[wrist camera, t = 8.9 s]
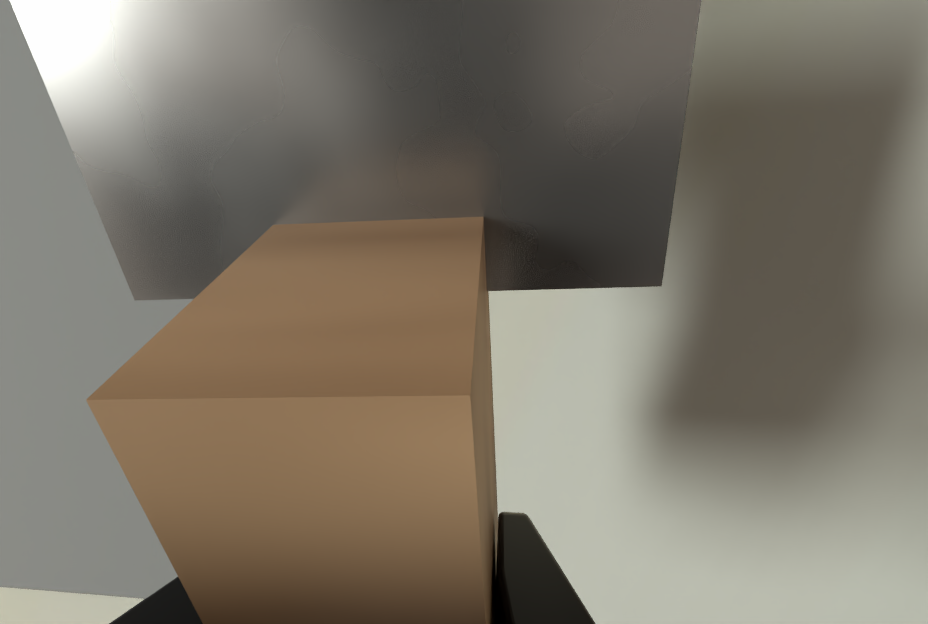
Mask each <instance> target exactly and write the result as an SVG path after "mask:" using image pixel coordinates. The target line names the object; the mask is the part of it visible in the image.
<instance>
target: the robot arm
mask: <svg viewBox="0 0 928 624" xmlns="http://www.w3.org/2000/svg"><path fill="white" fill-rule="evenodd" d="M110 624H203V623H202V621H201V619H200V617H199V615H198V614H197V612H196V610H195V608H194V606H193V604H192V602H191V600H190V598H189V596H188V594H187V592H186V591H185V589H184V587H183V585H182V583H181V581H180V579H179V577H176V578H175V579H173V580H172V581H170V582H169V583H168V584H166V585H165V586H163V587H162V588H160V589H159V590H157V591H156V592H155V593H153V594H152V595H150V596H149V597H147V598H146V599H144V600H143V601H141V602H140V603H139V604H137V605H136V606H134V607H133V608H131V609H130V610H128V611H127V612H126V613H124V614H123V615H121V616H120V617H118V618H117V619H115V620H114V621H113V622H111V623H110ZM495 624H595V622H594V621H593V619H592V617H591V616H590V614H589V613H588V611H587V609H586V608H585V606H584V605H583V603H582V601H581V600H580V598H579V597H578V595H577V593H576V592H575V590H574V589H573V587H572V585H571V584H570V582H569V581H568V579H567V577H566V576H565V574H564V573H563V571H562V569H561V568H560V566H559V565H558V563H557V561H556V560H555V558H554V557H553V555H552V553H551V552H550V550H549V549H548V547H547V545H546V544H545V542H544V541H543V539H542V537H541V536H540V534H539V533H538V531H537V529H536V528H535V526H534V525H533V523H532V521H531V520H530V518H529V517H528V516H527V515H526V514H524V513H512V512H502V513H500V514H499V517H498V538H497V562H496V596H495Z"/></svg>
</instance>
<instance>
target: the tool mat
mask: <svg viewBox="0 0 928 624" xmlns="http://www.w3.org/2000/svg"><path fill="white" fill-rule="evenodd" d="M192 300H193V299H172V300H134V298H133V295H132V293H131V290H130V288H129V286H128V283H127V281H126V278H125V276H124V274H123V271H122V269H121V266H120V264H119V262H118V259H117V257H116V254H115V252H114V250H113V247H112V245H111V242H110V240H109V238H108V235H107V233H106V230H105V228H104V226H103V223H102V221H101V218H100V216H99V213H98V211H97V209H96V206H95V204H94V201H93V199H92V197H91V194H90V192H89V189H88V187H87V185H86V182H85V180H84V177H83V175H82V173H81V170H80V168H79V165H78V163H77V161H76V158H75V156H74V153H73V151H72V149H71V146H70V144H69V141H68V139H67V137H66V134H65V132H64V129H63V127H62V125H61V122H60V120H59V117H58V115H57V113H56V110H55V108H54V105H53V103H52V101H51V98H50V96H49V93H48V91H47V88H46V86H45V84H44V81H43V79H42V76H41V74H40V72H39V69H38V67H37V64H36V62H35V60H34V57H33V55H32V52H31V50H30V48H29V45H28V43H27V40H26V38H25V36H24V33H23V31H22V28H21V26H20V24H19V21H18V19H17V16H16V14H15V12H14V9H13V7H12V4H11V2H10V0H0V587H9V588H21V589H33V590H45V591H58V592H70V593H82V594H94V595H107V596H119V597H131V598H143V599H146V598H147V597H149V596H150V595H152V594H153V593H155V592H156V591H157V590H159V589H160V588H162V587H163V586H165V585H166V584H168V583H169V582H170V581H172V580H173V579H175V578H176V577H178V575H177V573H176V571H175V570H174V568H173V566H172V564H171V562H170V560H169V558H168V556H167V554H166V552H165V550H164V548H163V547H162V545H161V543H160V541H159V539H158V537H157V535H156V533H155V531H154V529H153V527H152V525H151V524H150V522H149V520H148V518H147V516H146V514H145V512H144V510H143V508H142V506H141V504H140V503H139V501H138V499H137V497H136V495H135V493H134V491H133V489H132V487H131V485H130V483H129V481H128V480H127V478H126V476H125V474H124V472H123V470H122V468H121V466H120V464H119V462H118V460H117V459H116V457H115V455H114V453H113V451H112V449H111V447H110V445H109V443H108V441H107V439H106V437H105V436H104V434H103V432H102V430H101V428H100V426H99V424H98V422H97V420H96V418H95V416H94V414H93V413H92V411H91V409H90V407H89V405H88V403H87V401H86V399H87V398H88V397H89V396H90V395H92V394H93V393H94V392H95V391H96V390H97V389H98V388H99V387H100V386H101V385H102V384H103V383H104V382H105V381H107V380H108V379H109V378H110V377H111V376H112V375H113V374H114V373H115V372H116V371H117V370H118V369H119V368H120V367H122V366H123V365H124V364H125V363H126V362H127V361H128V360H129V359H130V358H131V357H132V356H133V355H134V354H135V353H137V352H138V351H139V350H140V349H141V348H142V347H143V346H144V345H145V344H146V343H147V342H148V341H149V340H150V339H152V338H153V337H154V336H155V335H156V334H157V333H158V332H159V331H160V330H161V329H162V328H163V327H164V326H165V325H167V324H168V323H169V322H170V321H171V320H172V319H173V318H174V317H175V316H176V315H177V314H178V313H179V312H180V311H182V310H183V309H184V308H185V307H186V306H187V305H188V304H189V303H190V302H191V301H192Z"/></svg>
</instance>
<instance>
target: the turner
mask: <svg viewBox="0 0 928 624" xmlns="http://www.w3.org/2000/svg"><path fill="white" fill-rule="evenodd" d="M10 2H11V4H12V7H13V9H14V12H15V14H16V16H17V19H18V21H19V24H20V26H21V28H22V31H23V33H24V36H25V38H26V40H27V43H28V45H29V48H30V50H31V52H32V55H33V57H34V60H35V62H36V64H37V67H38V69H39V72H40V74H41V76H42V79H43V81H44V84H45V86H46V88H47V91H48V93H49V96H50V98H51V101H52V103H53V105H54V108H55V110H56V113H57V115H58V117H59V120H60V122H61V125H62V127H63V129H64V132H65V134H66V137H67V139H68V141H69V144H70V146H71V149H72V151H73V153H74V156H75V158H76V161H77V163H78V165H79V168H80V170H81V173H82V175H83V177H84V180H85V182H86V185H87V187H88V189H89V192H90V194H91V197H92V199H93V201H94V204H95V206H96V209H97V211H98V213H99V216H100V218H101V221H102V223H103V226H104V228H105V230H106V233H107V235H108V238H109V240H110V242H111V245H112V247H113V250H114V252H115V254H116V257H117V259H118V262H119V264H120V266H121V269H122V271H123V274H124V276H125V278H126V281H127V283H128V286H129V288H130V290H131V293H132V295H133V298H134V300H172V299H193V300H192V301H191V302H190V303H189V304H188V305H187V306H186V307H185V308H184V309H183V310H182V311H180V312H179V313H178V314H177V315H176V316H175V317H174V318H173V319H172V320H171V321H170V322H169V323H168V324H167V325H165V326H164V327H163V328H162V329H161V330H160V331H159V332H158V333H157V334H156V335H155V336H154V337H153V338H152V339H150V340H149V341H148V342H147V343H146V344H145V345H144V346H143V347H142V348H141V349H140V350H139V351H138V352H137V353H135V354H134V355H133V356H132V357H131V358H130V359H129V360H128V361H127V362H126V363H125V364H124V365H123V366H122V367H120V368H119V369H118V370H117V371H116V372H115V373H114V374H113V375H112V376H111V377H110V378H109V379H108V380H107V381H105V382H104V383H103V384H102V385H101V386H100V387H99V388H98V389H97V390H96V391H95V392H94V393H93V394H92V395H90V396H89V397H88V398H87V399H86V401H87V403H88V405H89V407H90V409H91V411H92V413H93V414H94V416H95V418H96V420H97V422H98V424H99V426H100V428H101V430H102V432H103V434H104V436H105V437H106V439H107V441H108V443H109V445H110V447H111V449H112V451H113V453H114V455H115V457H116V459H117V460H118V462H119V464H120V466H121V468H122V470H123V472H124V474H125V476H126V478H127V480H128V481H129V483H130V485H131V487H132V489H133V491H134V493H135V495H136V497H137V499H138V501H139V503H140V504H141V506H142V508H143V510H144V512H145V514H146V516H147V518H148V520H149V522H150V524H151V525H152V527H153V529H154V531H155V533H156V535H157V537H158V539H159V541H160V543H161V545H162V547H163V548H164V550H165V552H166V554H167V556H168V558H169V560H170V562H171V564H172V566H173V568H174V570H175V571H176V573H177V575H178V577H179V579H180V581H181V583H182V585H183V587H184V589H185V591H186V592H187V594H188V596H189V598H190V600H191V602H192V604H193V606H194V608H195V610H196V612H197V614H198V615H199V617H200V619H201V621H202V623H203V624H495V596H496V562H497V538H498V511H497V487H496V463H495V439H494V415H493V391H492V367H491V343H490V319H489V295H488V291H502V290H539V289H576V288H612V287H649V286H662V279H663V272H664V264H665V257H666V250H667V243H668V236H669V228H670V221H671V214H672V207H673V200H674V192H675V185H676V178H677V171H678V164H679V156H680V149H681V142H682V135H683V128H684V121H685V113H686V106H687V99H688V92H689V85H690V77H691V70H692V63H693V56H694V49H695V41H696V34H697V27H698V20H699V13H700V5H701V0H10Z"/></svg>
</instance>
